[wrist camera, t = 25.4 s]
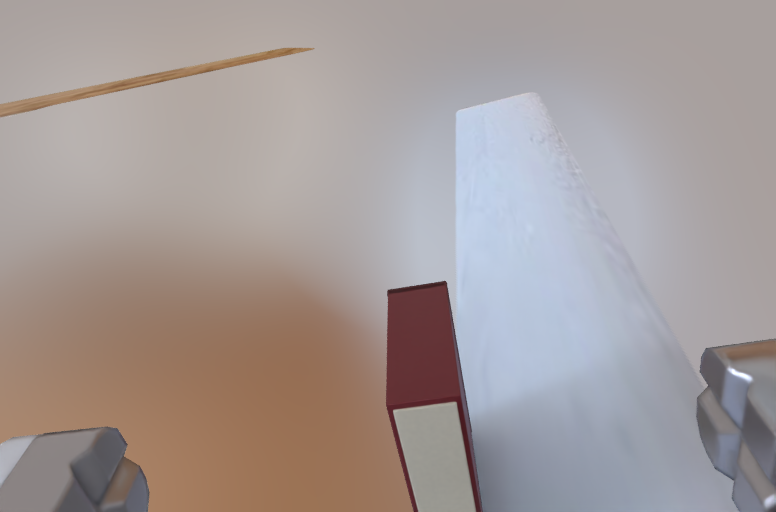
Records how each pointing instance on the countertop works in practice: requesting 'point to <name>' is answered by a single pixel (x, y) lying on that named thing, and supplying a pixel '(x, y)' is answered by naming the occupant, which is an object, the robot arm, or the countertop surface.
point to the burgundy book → (429, 401)
